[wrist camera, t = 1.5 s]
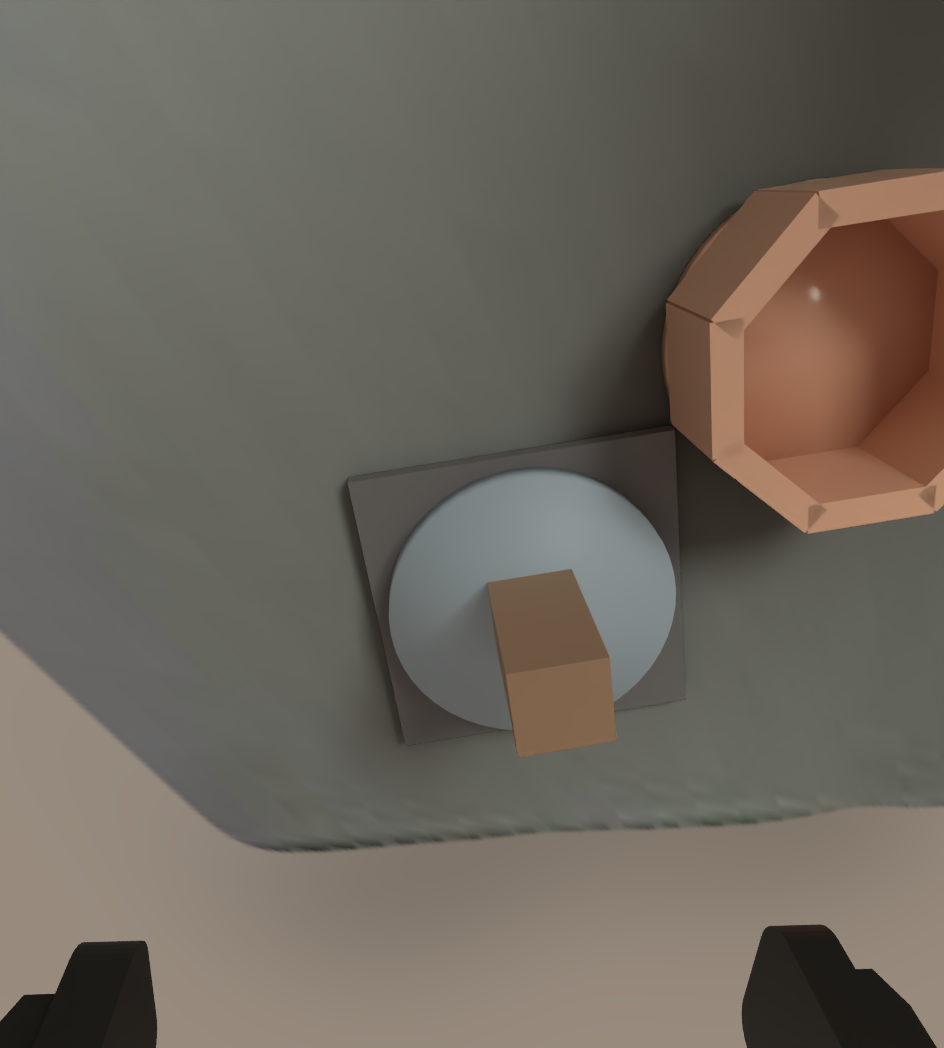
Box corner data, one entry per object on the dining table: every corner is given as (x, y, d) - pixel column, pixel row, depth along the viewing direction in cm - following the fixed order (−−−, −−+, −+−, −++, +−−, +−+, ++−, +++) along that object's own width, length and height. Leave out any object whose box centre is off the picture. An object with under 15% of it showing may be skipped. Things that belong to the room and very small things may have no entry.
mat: (669, 425, 29) (674, 430, 29) (680, 691, 34) (685, 699, 34) (348, 477, 29) (347, 482, 28) (405, 736, 34) (405, 745, 33)
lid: (662, 445, 29) (735, 520, 22) (673, 691, 33) (737, 813, 27) (364, 493, 29) (352, 582, 22) (415, 734, 33) (417, 867, 27)
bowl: (962, 155, 26) (1080, 149, 22) (933, 450, 30) (1026, 498, 26) (654, 204, 26) (707, 208, 22) (667, 493, 30) (713, 549, 26)
